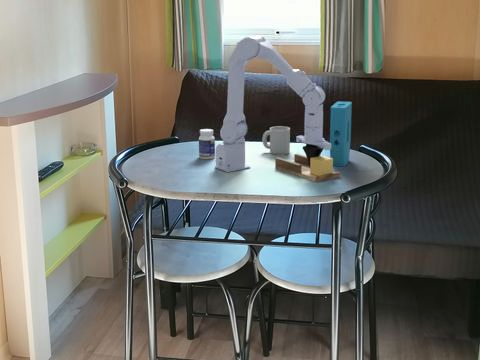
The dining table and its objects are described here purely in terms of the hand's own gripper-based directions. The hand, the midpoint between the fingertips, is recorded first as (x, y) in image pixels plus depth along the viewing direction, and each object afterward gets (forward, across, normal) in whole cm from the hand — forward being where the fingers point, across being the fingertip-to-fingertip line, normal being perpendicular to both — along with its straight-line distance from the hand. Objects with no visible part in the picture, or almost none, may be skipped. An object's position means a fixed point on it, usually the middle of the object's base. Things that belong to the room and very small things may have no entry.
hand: (312, 167), depth 216 cm
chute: (+2, +3, 0) cm, 4 cm away
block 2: (+2, +5, -17) cm, 18 cm away
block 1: (+1, -4, 0) cm, 4 cm away
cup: (+2, +30, -9) cm, 32 cm away
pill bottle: (+2, +40, +15) cm, 42 cm away
